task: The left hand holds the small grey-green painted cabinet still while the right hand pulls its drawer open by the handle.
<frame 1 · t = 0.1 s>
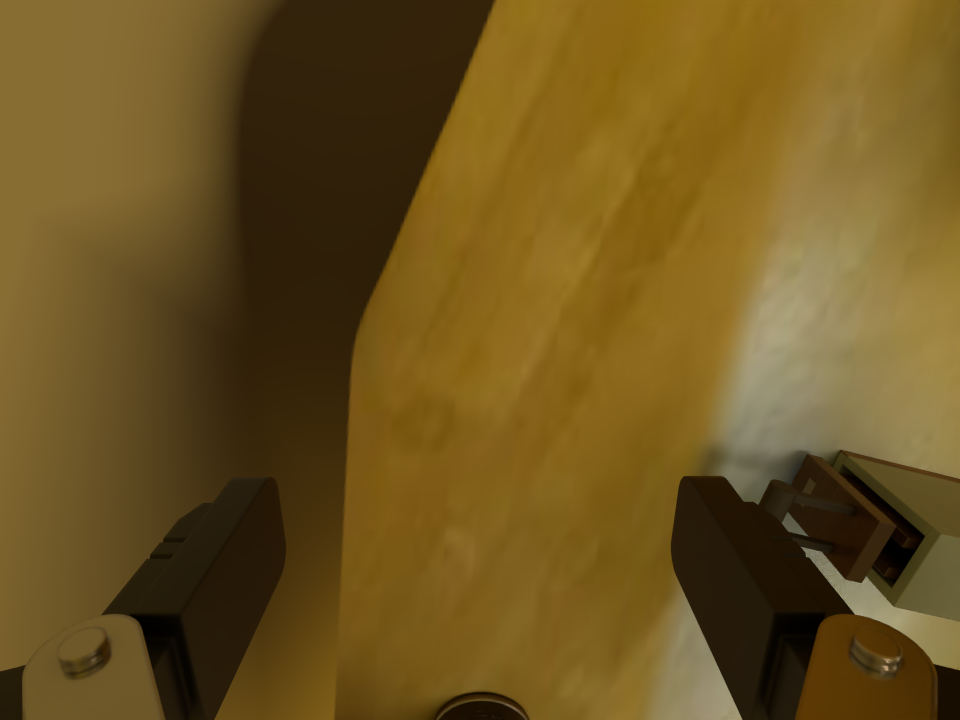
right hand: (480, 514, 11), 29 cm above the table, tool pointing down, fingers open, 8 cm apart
cabinet: (942, 510, 46), on the table
drawer: (913, 532, 41), point 5 cm above the table, slide at 1.9 cm
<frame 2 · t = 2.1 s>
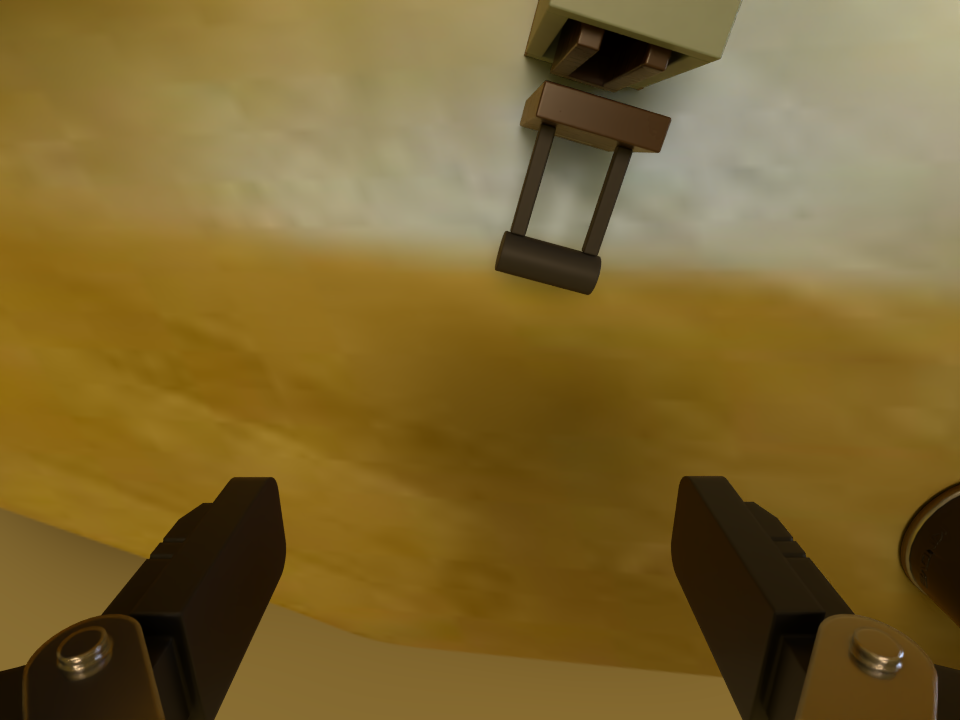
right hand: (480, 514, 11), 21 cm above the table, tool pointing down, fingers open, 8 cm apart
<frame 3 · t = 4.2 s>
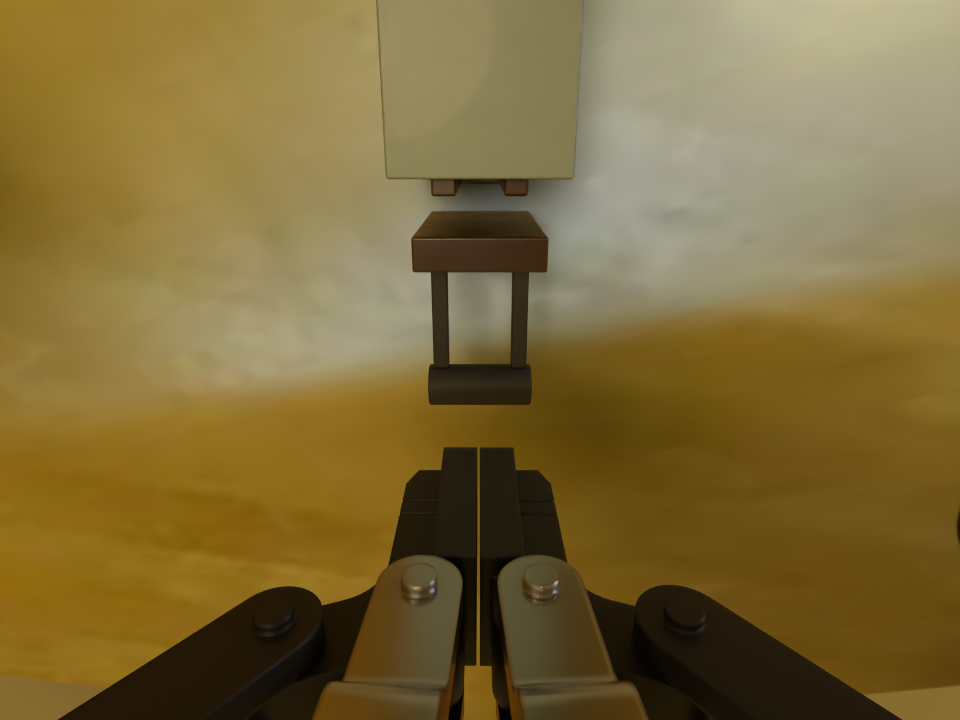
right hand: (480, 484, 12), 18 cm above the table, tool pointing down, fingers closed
drawer: (480, 63, 21), point 5 cm above the table, slide at 1.9 cm
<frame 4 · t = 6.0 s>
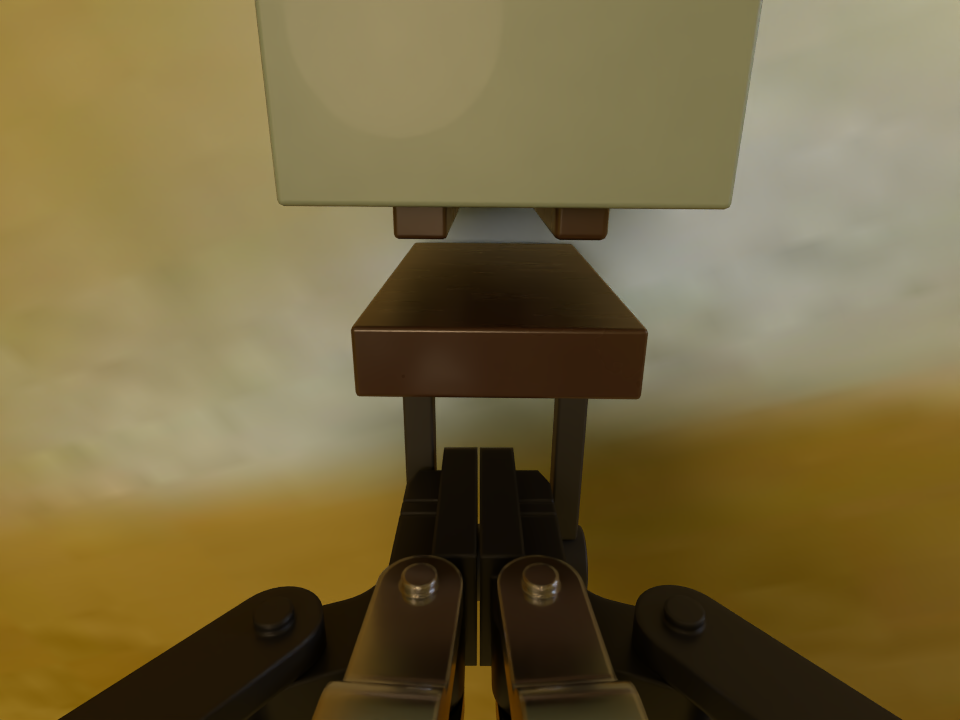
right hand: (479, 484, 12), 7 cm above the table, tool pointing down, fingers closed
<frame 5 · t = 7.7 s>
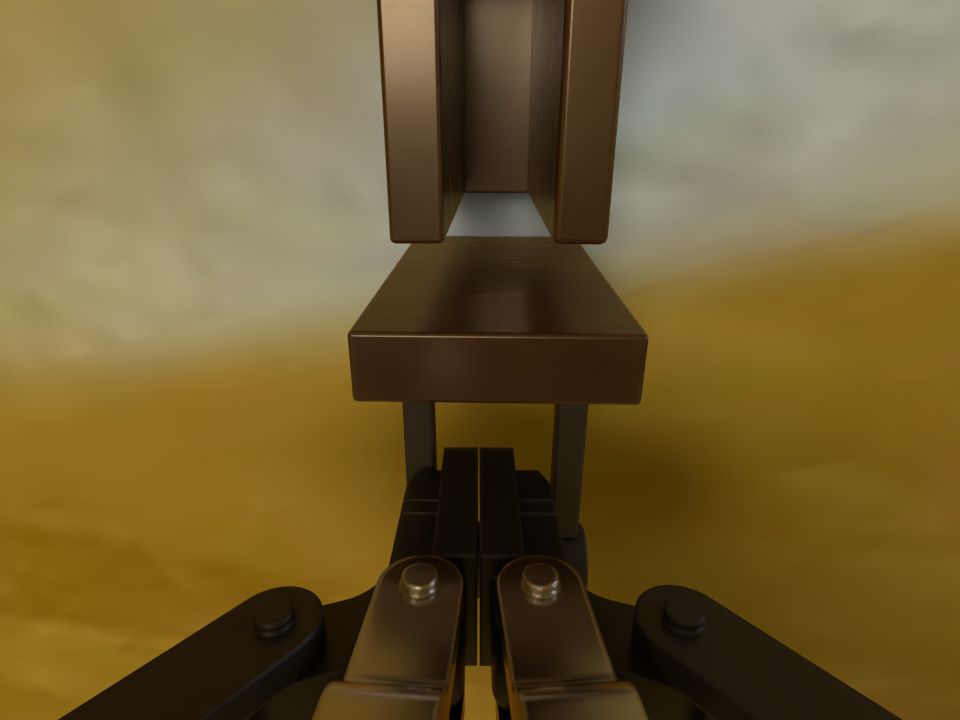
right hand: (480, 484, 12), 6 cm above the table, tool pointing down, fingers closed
when the left hand's fingers open (7 cm above the table, at t = 9.5 s): cabinet stays where it is, on the table.
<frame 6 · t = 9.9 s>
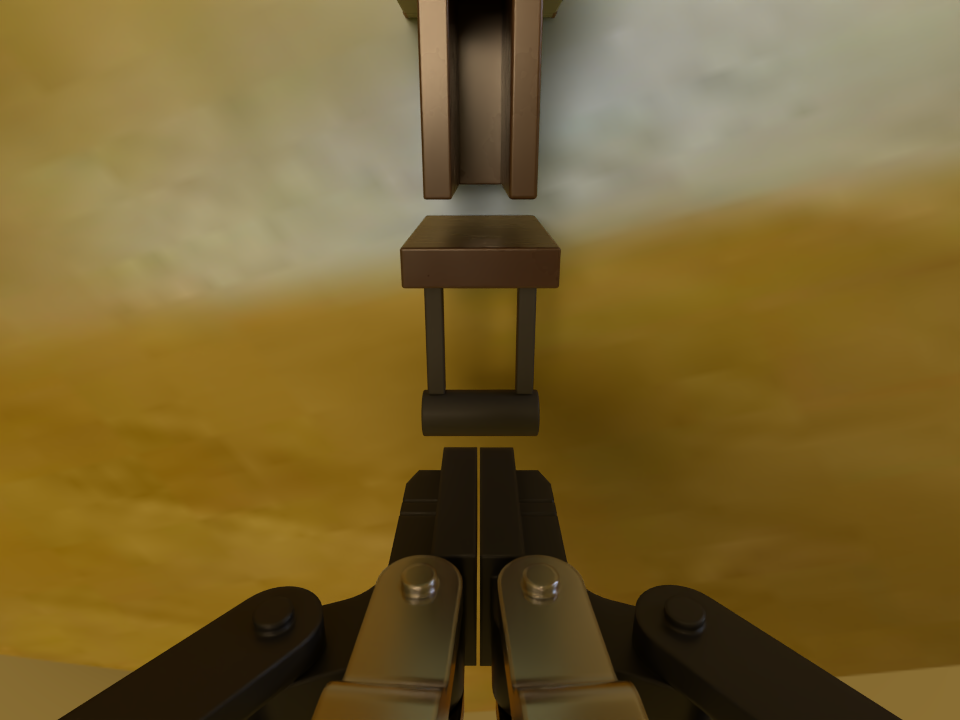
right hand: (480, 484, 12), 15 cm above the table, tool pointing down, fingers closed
drawer: (480, 45, 18), point 5 cm above the table, slide at 7.5 cm
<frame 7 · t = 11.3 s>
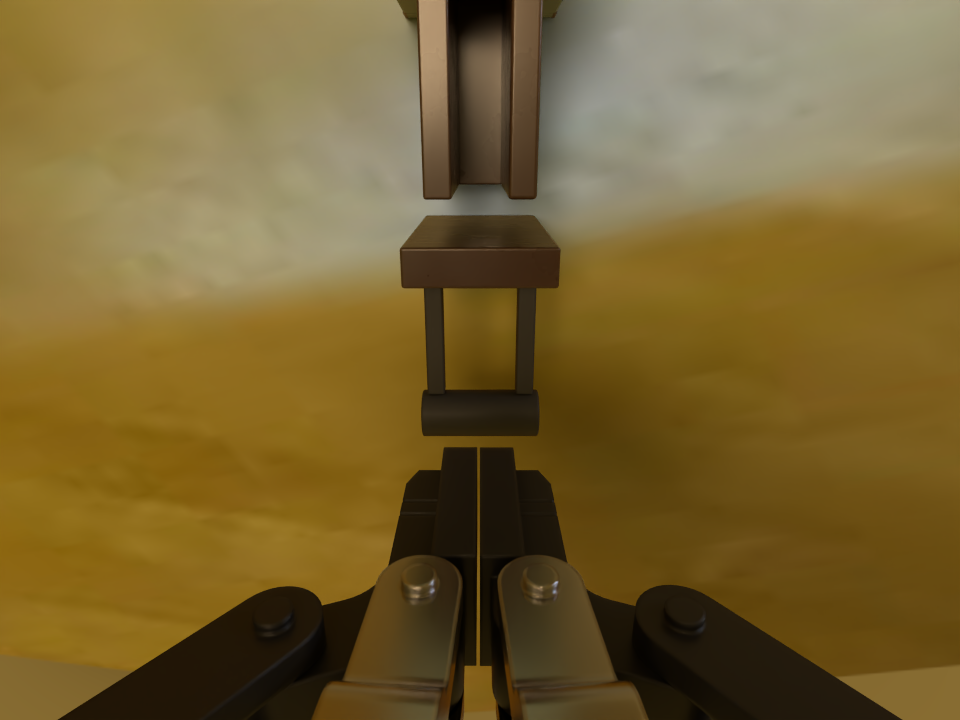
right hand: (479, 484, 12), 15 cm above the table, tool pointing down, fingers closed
drawer: (479, 45, 18), point 5 cm above the table, slide at 7.5 cm
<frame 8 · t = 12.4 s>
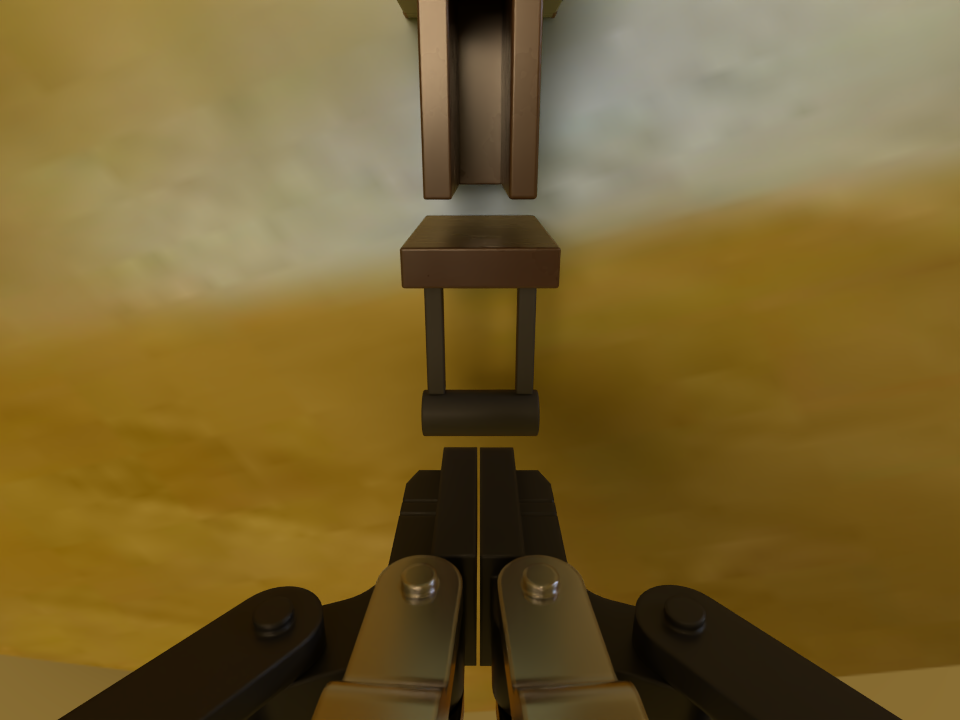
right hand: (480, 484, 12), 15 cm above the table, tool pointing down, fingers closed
drawer: (480, 45, 18), point 5 cm above the table, slide at 7.5 cm
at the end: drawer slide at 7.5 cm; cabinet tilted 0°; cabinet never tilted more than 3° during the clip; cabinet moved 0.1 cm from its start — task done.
